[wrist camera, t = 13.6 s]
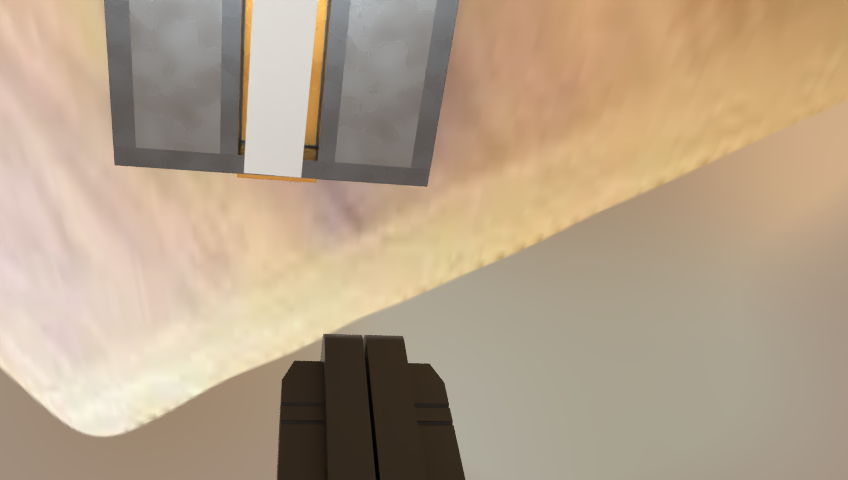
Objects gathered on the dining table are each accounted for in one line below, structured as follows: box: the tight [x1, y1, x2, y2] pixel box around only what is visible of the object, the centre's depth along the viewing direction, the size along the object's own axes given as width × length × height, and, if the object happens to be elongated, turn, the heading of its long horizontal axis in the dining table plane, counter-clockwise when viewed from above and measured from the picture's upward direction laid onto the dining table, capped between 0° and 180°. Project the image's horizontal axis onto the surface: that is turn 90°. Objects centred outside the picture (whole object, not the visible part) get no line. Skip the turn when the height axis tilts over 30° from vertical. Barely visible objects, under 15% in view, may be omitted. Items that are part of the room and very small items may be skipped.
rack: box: [104, 0, 459, 187], centre depth 43 cm, size 18×15×2 cm
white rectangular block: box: [244, 0, 318, 178], centre depth 41 cm, size 3×10×6 cm, turn 171°
